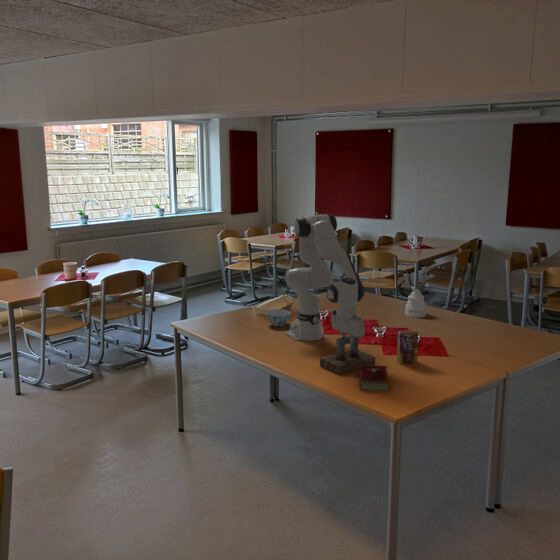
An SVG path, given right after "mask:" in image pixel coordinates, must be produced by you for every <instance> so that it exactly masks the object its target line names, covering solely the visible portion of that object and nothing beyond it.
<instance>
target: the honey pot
mask: <svg viewBox="0 0 560 560" xmlns="http://www.w3.org/2000/svg"><path fill="white" fill-rule="evenodd" d="M410 288H411V290H412V292H411V293H410V295H408V296H407V302H406V304H405V309H404V310H405V311H404V315H405V316H406V315H407V316H406V317H409V316H410V318H423V317H424V318H425V317H427V306H426V302H425V299H424V298H425V296H424V295H423V294H422V292H421V291H420V289H418V288H416V286H411V287H410Z"/></svg>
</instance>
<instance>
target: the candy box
mask: <svg viewBox="0 0 560 560" xmlns="http://www.w3.org/2000/svg"><path fill="white" fill-rule="evenodd" d="M418 343H419V331H417V330H416V329H414V330H398V331H397V351H396V353H397V355H396V356H397V357H396V361H397V363H398V364H399V365H406V364H418V353H419V352H418V347H419V346H418V345H419V344H418Z"/></svg>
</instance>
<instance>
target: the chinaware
mask: <svg viewBox="0 0 560 560" xmlns="http://www.w3.org/2000/svg"><path fill="white" fill-rule="evenodd" d="M265 314H266V318H267V319H268V321H269V322H270V323H271V324H272V325H273V327H277V326H280V327H284V326H285V324H287V323H288V322H289V320H290V318H291V316H292V311H290V310H288V309H271V310H268V311H266V312H265Z"/></svg>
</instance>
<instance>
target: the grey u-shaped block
mask: <svg viewBox="0 0 560 560" xmlns="http://www.w3.org/2000/svg"><path fill="white" fill-rule="evenodd" d="M348 339H350V335H347V336H346V337H342V336H341V337H339V338H336V342H335V343H336V354H337V360H339V361H342V360H345V352H346V345H349V344H350V343H348ZM359 341H360V337H359V338H358V337H355V338H354V340H353V343H352V344H350V345H349V346H350V347H349V348H350V350H349V351H350V356H351V357H353V358H354V357H358V350H359Z"/></svg>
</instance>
